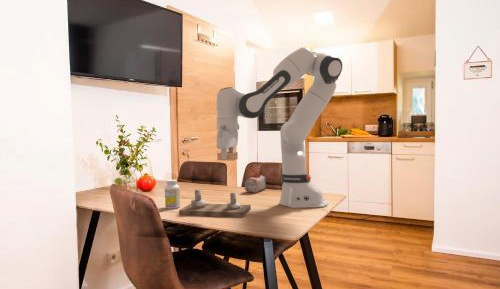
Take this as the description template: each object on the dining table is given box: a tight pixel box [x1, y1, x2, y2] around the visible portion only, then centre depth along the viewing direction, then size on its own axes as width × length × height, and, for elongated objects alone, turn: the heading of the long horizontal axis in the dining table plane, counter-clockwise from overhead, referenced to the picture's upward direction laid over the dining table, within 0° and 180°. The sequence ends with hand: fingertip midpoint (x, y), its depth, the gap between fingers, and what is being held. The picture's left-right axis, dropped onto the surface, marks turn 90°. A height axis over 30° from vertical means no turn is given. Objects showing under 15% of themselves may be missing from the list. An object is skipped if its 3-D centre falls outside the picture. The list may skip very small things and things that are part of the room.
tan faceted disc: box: [216, 151, 239, 162], centre depth 153 cm, size 7×7×3 cm
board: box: [178, 189, 252, 218], centre depth 156 cm, size 28×14×10 cm, turn 77°
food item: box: [244, 173, 267, 194], centre depth 203 cm, size 14×8×10 cm, turn 154°
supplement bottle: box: [164, 178, 181, 210], centre depth 166 cm, size 7×7×13 cm
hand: (227, 158), depth 153 cm, fingers closed on tan faceted disc, 7 cm apart
